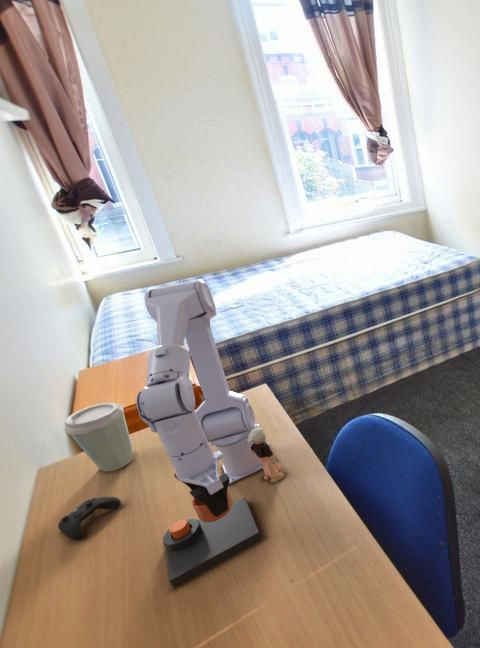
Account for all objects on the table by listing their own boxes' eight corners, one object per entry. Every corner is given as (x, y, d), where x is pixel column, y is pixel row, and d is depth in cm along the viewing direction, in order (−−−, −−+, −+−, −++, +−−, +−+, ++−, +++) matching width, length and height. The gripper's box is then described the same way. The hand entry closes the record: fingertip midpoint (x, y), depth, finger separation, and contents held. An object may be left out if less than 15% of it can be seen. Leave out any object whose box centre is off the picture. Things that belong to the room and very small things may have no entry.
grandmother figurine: (292, 472, 103) (275, 426, 98) (279, 485, 100) (261, 437, 95) (265, 466, 106) (248, 421, 101) (252, 479, 103) (233, 432, 97)
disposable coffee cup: (119, 447, 118) (93, 397, 112) (156, 448, 116) (131, 397, 110) (78, 478, 108) (47, 425, 102) (118, 479, 106) (88, 426, 101)
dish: (193, 520, 83) (185, 503, 82) (219, 498, 88) (212, 481, 86) (214, 527, 82) (206, 510, 80) (240, 504, 86) (233, 487, 84)
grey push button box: (248, 503, 96) (242, 490, 95) (261, 539, 87) (256, 525, 86) (167, 544, 88) (160, 530, 87) (174, 588, 79) (166, 574, 78)
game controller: (78, 539, 90) (50, 521, 89) (72, 551, 92) (45, 533, 91) (125, 500, 99) (100, 483, 98) (118, 512, 101) (94, 496, 100)
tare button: (189, 523, 88) (186, 516, 87) (191, 532, 86) (188, 525, 85) (172, 532, 87) (168, 525, 86) (173, 541, 85) (170, 534, 84)
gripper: (230, 446, 77) (255, 507, 83) (196, 418, 86) (221, 475, 91) (182, 472, 72) (213, 536, 78) (152, 440, 81) (181, 499, 86)
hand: (214, 505), depth 84 cm, fingers closed on dish, 5 cm apart
